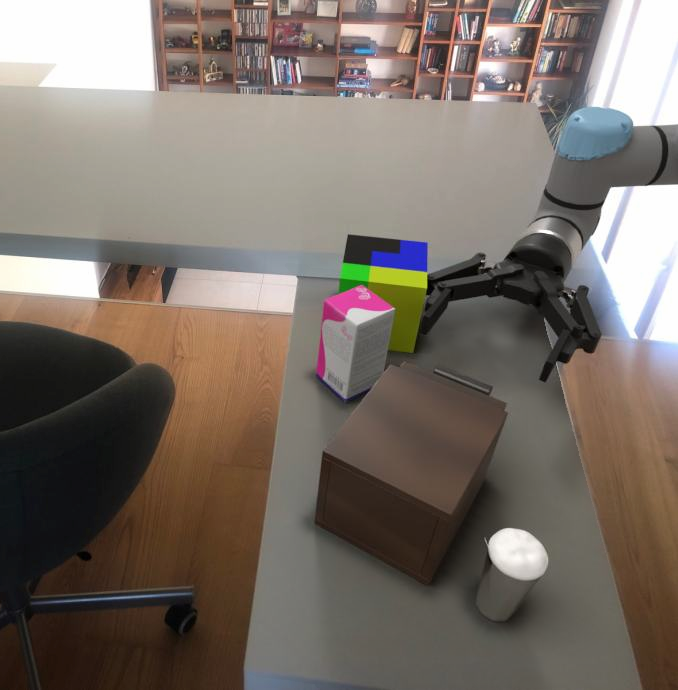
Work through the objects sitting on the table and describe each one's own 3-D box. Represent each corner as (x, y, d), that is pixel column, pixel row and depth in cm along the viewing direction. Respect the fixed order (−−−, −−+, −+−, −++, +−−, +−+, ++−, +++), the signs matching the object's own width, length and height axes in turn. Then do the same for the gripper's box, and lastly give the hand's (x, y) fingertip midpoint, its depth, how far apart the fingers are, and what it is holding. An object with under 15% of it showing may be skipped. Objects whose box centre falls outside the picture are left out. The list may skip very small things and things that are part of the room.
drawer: (409, 395, 80) (422, 335, 74) (501, 434, 75) (523, 374, 69) (336, 496, 69) (345, 436, 63) (438, 550, 64) (457, 490, 58)
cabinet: (376, 436, 76) (390, 363, 69) (481, 485, 71) (508, 412, 64) (313, 523, 68) (322, 450, 61) (427, 586, 62) (451, 515, 55)
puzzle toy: (414, 305, 94) (427, 242, 87) (413, 353, 86) (427, 288, 80) (340, 296, 96) (347, 234, 89) (332, 342, 88) (340, 278, 82)
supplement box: (383, 384, 82) (397, 308, 75) (344, 404, 80) (355, 327, 73) (351, 357, 86) (362, 282, 79) (313, 375, 84) (321, 299, 76)
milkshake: (452, 580, 63) (477, 514, 56) (512, 581, 63) (544, 515, 56) (464, 628, 59) (492, 564, 53) (528, 630, 59) (563, 565, 53)
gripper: (635, 315, 86) (590, 418, 73) (443, 253, 97) (375, 333, 84) (659, 265, 81) (615, 366, 68) (453, 206, 92) (383, 282, 79)
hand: (482, 348), depth 76 cm, fingers open, 13 cm apart
